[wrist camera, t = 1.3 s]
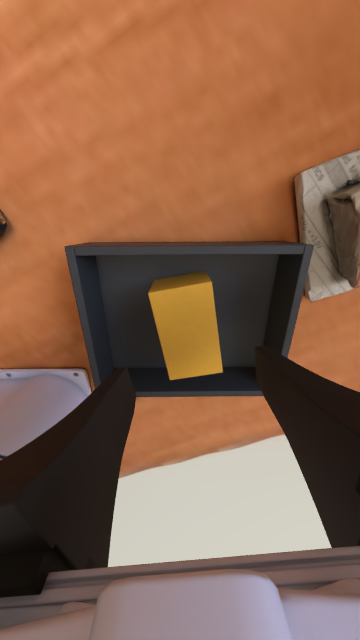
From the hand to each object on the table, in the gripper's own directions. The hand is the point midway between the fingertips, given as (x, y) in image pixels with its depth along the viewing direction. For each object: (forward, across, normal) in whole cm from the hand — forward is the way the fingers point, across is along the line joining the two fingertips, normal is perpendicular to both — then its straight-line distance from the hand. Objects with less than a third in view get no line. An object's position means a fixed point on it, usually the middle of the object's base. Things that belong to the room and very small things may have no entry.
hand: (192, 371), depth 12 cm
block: (+8, 0, 0) cm, 8 cm away
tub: (+9, 0, 0) cm, 9 cm away
